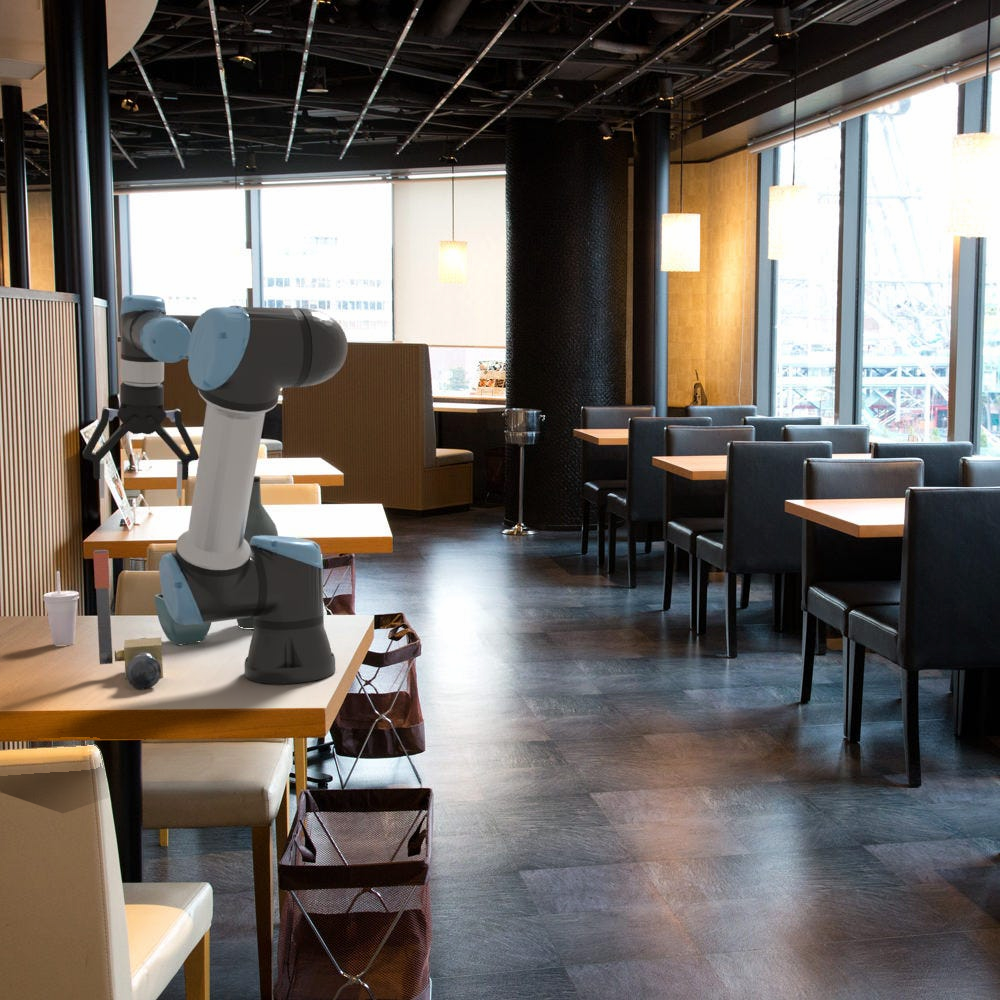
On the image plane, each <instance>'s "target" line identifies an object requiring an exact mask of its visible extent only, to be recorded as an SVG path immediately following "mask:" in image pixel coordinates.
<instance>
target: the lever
mask: <svg viewBox="0 0 1000 1000" xmlns="http://www.w3.org/2000/svg"><path fill="white" fill-rule="evenodd" d="M92 554H93V571H94V572H93V573H94V589H96V590H95V593H96V613H97V614H96V615H97V632H98V655H99V656H98V657H99V658H98V659H99V665H110V664H113V662H114V661H113V659H114V658H113V642H112V641H113V640H112V622H111V621H112V620H111V601H110V598H111V597H110V588H111V582H110V581H111V579H110V578H111V577H110V562H109V560H110V559H109V550H108V549H96V550H95V549H94V551H93V553H92Z"/></svg>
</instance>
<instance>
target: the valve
mask: <svg viewBox="0 0 1000 1000" xmlns="http://www.w3.org/2000/svg"><path fill="white" fill-rule="evenodd" d="M162 645H163V643H162V637H150V638H149V637H148V638H147V637H142V638H136V639H135V638H134V639H124V645H123V649H122V650H121V649H120V650H119V649H118V650H114V661H115V662H124V671H125V672H124V676H125V677H124V678H125V681H127V682H128V683H129V685H131V686H132V687H133V688H135V689H138V690H147V689H150V688H152V687H154V686H156V684H157V683H158V682H159V680H160V678H164V668H163V649H162Z"/></svg>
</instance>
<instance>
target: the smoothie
mask: <svg viewBox="0 0 1000 1000" xmlns="http://www.w3.org/2000/svg"><path fill="white" fill-rule="evenodd" d="M60 574H61V573H60V571H59V570H57V571H56V586H57V589H56V590H55V591H51V592H46V593H44V594H43V599H42V600H43V602H45V609H46V612H47V617H48V624H49V628H50V634H51V639H52V645H53V644H55V645H69V646H71V645H70V644H73V643H74V644H75V640H76V639H75V637H76V624H77V612H78V611H77V610H78V600H79V599H80V596H79V595H80V594H79V592H78V591H76V590H61V577H60V576H61V575H60ZM74 644H73V645H74Z"/></svg>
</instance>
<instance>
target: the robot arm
mask: <svg viewBox="0 0 1000 1000" xmlns="http://www.w3.org/2000/svg"><path fill="white" fill-rule="evenodd" d="M120 305H121V306H120V314H119V318H120V364H119V365H120V366H119V367H120V371H119V372H120V374H119V375H120V376H119V377H120V380H121V381H122V383H120V385H119V386H120V389H119V390H120V391H119V392H120V394H119V395H120V398H119V402H120V404H119V408H118V409H116V408H115V409H114V408H109V407H108V406H103V407H102V409H101V417H100V420H99V422H98V423H97V425H96V427H95V429H94V431H93V432H92V435H91V437H90V438H89V440H88V442H87V444H86V445H85V448H84V449H83V451H82V458H83V459H84V460H89V461H91V462H92V469H93V470H92V471H93V473H92V475H93V478H94V480H99V498H100V499H105V459H104V457H106V455H108V453H109V452H110V451H111V450H112V449H113V448H114V446H116V445H117V444H118V443H119V441H120V440H121V439H122V438H124V436H126V434H127V433H128V432H129V433H132V434H133V435H138V434H145V435H151V434H154V433H156V434H157V435H158V436H159V437H160V439H162V440H163V442H164V443H165V444H166V445H167V446H168V448H169V449H170V450H171V451H172V452H173V453H174V454H175V456H177V457H178V459H179V460H177V462H176V463H177V465H176V498H177V499H182V498H183V497H182V495H183V492H182V491H183V481H188V479H189V465H190V462H193V461H198V462H197V467H196V476H195V482H194V488H193V489H194V490H193V495H192V496H193V497H192V502H191V510H190V517H189V523H188V524H189V525H188V529H187V530H185V532H183V533H181V535H179V536H178V538H177V540H176V544H175V545H176V546H175V551H174V552H173V553H172V552H168V553H166V554H163V555H162V556H161V557H160V560H159V563H158V564H159V565H158V572H159V573H158V574H159V576H158V577H159V583H160V590H161V594H163V598H164V601H165V604H166V607H167V610H168V612H169V614H170V616H171V617H172V619H173V620H174V621H175V622H177V623H178V624H181V625H193V624H200V625H203V623H210V622H211V623H217V622H223V621H224V622H225V621H232V620H237V619H241V618H248V617H254V630H252V631H253V632H252V636H251V640H250V644H249V649H248V654H247V657H245V659H244V666H243V667H244V677H245V678H246V679H247V680H250V681H252V682H256V683H263V684H273V685H274V684H276V685H278V684H282V685H284V684H288V685H289V684H298V683H299V684H300V683H301V684H302V683H307V682H312V681H319V680H321V679H325V678H327V677H330V676H332V675H333V674H335V673H336V657H335V654H334V653H333V651H332V648H331V645H330V641H329V636H328V635H327V631H326V629H325V624H324V622H325V621H324V619H325V618H324V579H323V577H324V576H323V570H324V565H323V558H322V549H321V547H320V545H319V544H318V543H317V542H315V541H313V540H310V539H307V538H300V537H293V536H292V537H291V536H282V535H281V536H280V535H278V536H253V537H252V538H251V541H250V545H251V546H250V545H249V544H248V542H247V541H246V540H245V539H244V533H245V527H246V522H247V516H248V510H249V504H250V498H251V492H252V487H253V481H254V476H256V469H257V468H256V467H257V463H258V457H259V450H260V445H261V439H262V433H263V428H264V423H265V417H266V413H267V412H270V411H271V410H273V409H274V408H275V407H276V406H277V404H278V402H279V397H280V392H281V391H280V390H281V389H283V388H284V389H285V388H304V387H310V386H315V385H319V384H323V383H324V382H326V381H328V380H330V379H332V378H333V377H334V376H335V375H336V374H337V373H338V372H339V371H340V370H341V368H342V367H343V366H344V364H345V361H346V358H347V355H348V347H349V346H348V340H347V339H348V338H347V335H346V333H345V331H344V330H343V328H342V326H341V325H340V323H338V322H337V320H336V319H334V318H333V317H331V316H329V315H328V314H327V313H324V312H322V311H320V310H319V311H318V310H315V309H312V308H305V307H304V308H303V307H292V308H291V307H289V308H288V307H262V306H261V307H255V306H251V307H250V306H241V305H230V306H227V307H226V306H221V307H220V306H219V307H212V308H209V309H207V310H205V311H204V312H203V313H201V314H200V315H185V314H183V315H181V314H178V315H177V314H174V315H173V314H167V311H166V304H165V300H164V299H163V298H162V297H159V296H155V295H145V294H130V295H125V296H124V297H122V299H121V304H120ZM182 360H188V362H187V369H188V374H189V377H190V380H191V382H192V383H193V385H194V386H195V387H197V388H198V389H197V392H198V394H199V396H200V397H201V398H202V400H204V402H205V403H206V406H205V414H204V421H203V427H202V433H201V441H200V448H199V452H198V451H197V448H196V447H195V445H194V443H193V440H192V439H191V437H190V435H189V432H188V431H187V428H186V427H185V424H184V422H183V420H182V413H181V412H182V411H181V410H180V408H175V409H173V410H172V409H171V410H165V407H164V404H165V403H164V401H165V400H164V399H165V398H164V397H165V396H164V395H165V393H164V391H165V386H164V385H163V384H162V383H163V382H165V363H168V364H173V363H177V362H180V361H182ZM115 417H117V418H118V420H119V421H120V422H121V424H120V425H119V426H118V428H117V429H116V430H115V431H114V432H113V434H111V435H110V436H109V438H107V439H106V441H105V442H104V443H103V444H102V445H101V446H100V447H99V448H98V450H97V451H96V452H94V450H95V448H96V446H97V445H98V442H99V440H100V439H101V437H102V435H103V433H104V432H105V429H106V427H107V426H108V423H109V422H111V421H113V420H114V418H115ZM166 418H168V419H169V420H170V422H171V423H175V426H176V429H177V431H178V432H179V434H180V437H181V438H182V441H183V442H184V445H185V446H186V449H187V450H188V452H189V453H186V452H185V451H184V450H183V449H182V448H181V446H179V444H178V443H177V442H176V441H175V440H174V438H172V436H171V435H170V434H169V433H168V432H167V430H166V429H165V428H164V426H163V425H162V423H163V422H165V419H166ZM198 453H199V454H198Z"/></svg>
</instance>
